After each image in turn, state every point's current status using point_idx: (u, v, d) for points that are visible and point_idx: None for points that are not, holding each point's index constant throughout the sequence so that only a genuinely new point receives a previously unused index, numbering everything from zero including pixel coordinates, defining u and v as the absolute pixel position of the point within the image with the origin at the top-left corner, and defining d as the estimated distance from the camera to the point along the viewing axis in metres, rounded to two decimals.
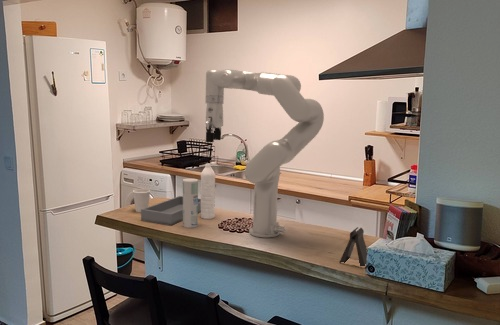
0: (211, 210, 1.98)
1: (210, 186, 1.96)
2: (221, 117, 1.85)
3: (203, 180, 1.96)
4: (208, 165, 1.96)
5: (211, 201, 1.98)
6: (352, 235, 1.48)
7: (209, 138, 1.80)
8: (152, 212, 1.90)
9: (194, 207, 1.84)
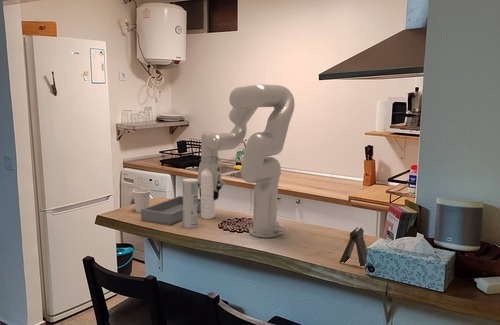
0: (211, 210, 1.98)
1: (210, 186, 1.96)
2: None
3: (203, 180, 1.96)
4: None
5: (211, 201, 1.98)
6: (352, 235, 1.48)
7: (217, 196, 1.99)
8: (152, 212, 1.90)
9: (194, 207, 1.84)
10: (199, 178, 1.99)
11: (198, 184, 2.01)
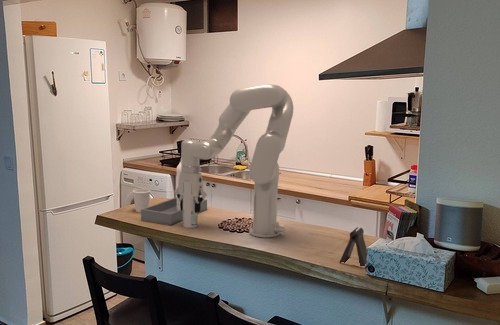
0: None
1: None
2: None
3: (178, 174, 2.03)
4: None
5: None
6: (352, 235, 1.48)
7: (199, 208, 1.85)
8: (152, 212, 1.90)
9: (194, 207, 1.84)
10: (179, 189, 1.85)
11: (178, 195, 1.87)
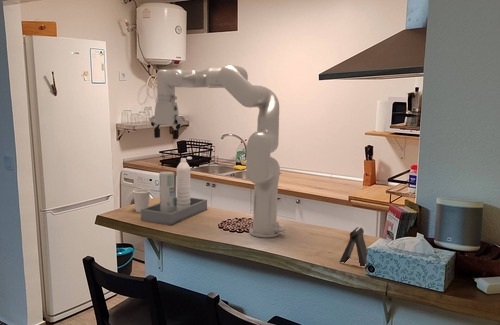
0: (186, 203, 2.06)
1: (185, 180, 2.04)
2: None
3: (178, 174, 2.03)
4: (183, 160, 2.04)
5: (187, 194, 2.05)
6: (352, 235, 1.48)
7: (177, 135, 1.89)
8: (152, 212, 1.90)
9: (170, 199, 1.94)
10: (155, 118, 1.90)
11: (152, 124, 1.93)
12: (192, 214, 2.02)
